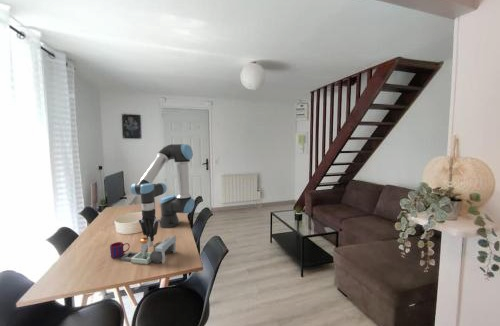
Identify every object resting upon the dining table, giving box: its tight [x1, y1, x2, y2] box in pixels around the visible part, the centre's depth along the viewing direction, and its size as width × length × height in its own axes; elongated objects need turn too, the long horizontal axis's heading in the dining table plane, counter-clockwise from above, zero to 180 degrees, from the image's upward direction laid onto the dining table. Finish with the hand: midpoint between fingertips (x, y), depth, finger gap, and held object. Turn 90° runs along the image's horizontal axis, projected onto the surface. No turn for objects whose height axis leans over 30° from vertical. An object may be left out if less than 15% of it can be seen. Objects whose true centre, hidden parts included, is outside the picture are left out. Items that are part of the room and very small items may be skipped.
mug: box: [109, 241, 131, 259], centre depth 136 cm, size 7×10×7 cm
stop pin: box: [139, 237, 149, 259], centre depth 129 cm, size 4×4×12 cm
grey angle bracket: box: [150, 234, 177, 264], centre depth 133 cm, size 14×8×10 cm, turn 169°
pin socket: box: [120, 251, 139, 262], centre depth 133 cm, size 7×7×2 cm
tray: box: [130, 251, 152, 265], centre depth 130 cm, size 8×10×2 cm
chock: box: [153, 240, 163, 251], centre depth 140 cm, size 6×4×5 cm
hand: (150, 245), depth 142 cm, fingers closed
